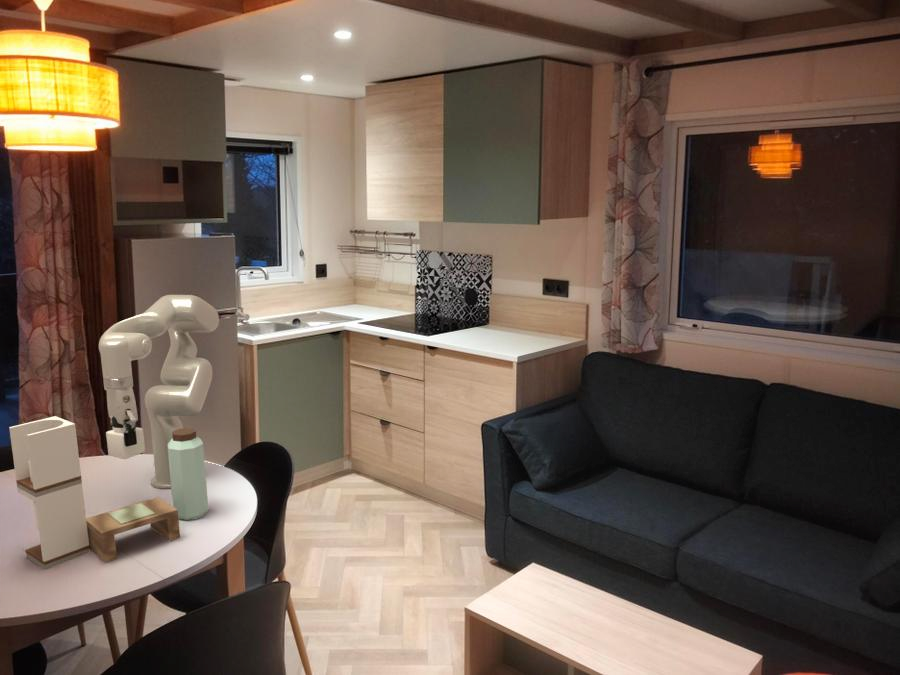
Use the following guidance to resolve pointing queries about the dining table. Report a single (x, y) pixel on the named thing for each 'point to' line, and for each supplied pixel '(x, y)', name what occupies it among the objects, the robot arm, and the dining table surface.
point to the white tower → (52, 488)
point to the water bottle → (187, 474)
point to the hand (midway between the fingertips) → (124, 441)
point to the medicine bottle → (118, 444)
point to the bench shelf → (130, 525)
